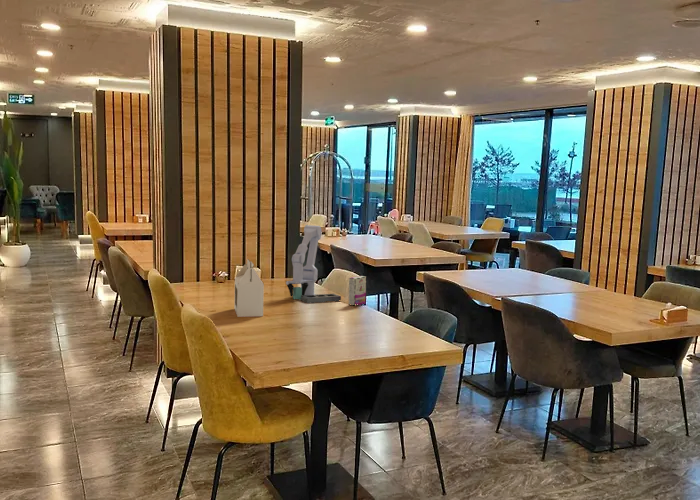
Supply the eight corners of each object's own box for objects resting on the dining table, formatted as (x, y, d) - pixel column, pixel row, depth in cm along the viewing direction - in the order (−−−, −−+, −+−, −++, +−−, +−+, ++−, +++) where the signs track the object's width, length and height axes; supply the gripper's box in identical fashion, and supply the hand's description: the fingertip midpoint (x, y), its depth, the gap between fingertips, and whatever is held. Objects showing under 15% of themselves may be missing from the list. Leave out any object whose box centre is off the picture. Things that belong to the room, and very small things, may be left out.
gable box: (263, 316, 329) (264, 263, 326) (237, 317, 326) (238, 263, 323) (258, 308, 350) (259, 258, 348) (234, 308, 347) (235, 258, 344)
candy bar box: (359, 302, 377) (360, 275, 375) (365, 304, 374) (366, 276, 372) (347, 305, 368) (348, 277, 366) (354, 306, 365) (355, 278, 363)
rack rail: (300, 300, 378) (300, 295, 378) (333, 298, 389) (333, 293, 389) (307, 303, 370) (307, 298, 369) (340, 301, 380) (340, 296, 380)
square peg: (292, 298, 384) (293, 287, 383) (298, 298, 386) (299, 286, 385) (295, 299, 380) (295, 288, 380) (301, 299, 382) (301, 287, 381)
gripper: (289, 274, 374) (288, 297, 376) (311, 274, 381) (310, 296, 383) (284, 273, 381) (284, 295, 382) (306, 272, 387) (306, 294, 389)
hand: (297, 295), depth 383 cm, fingers open, 7 cm apart
